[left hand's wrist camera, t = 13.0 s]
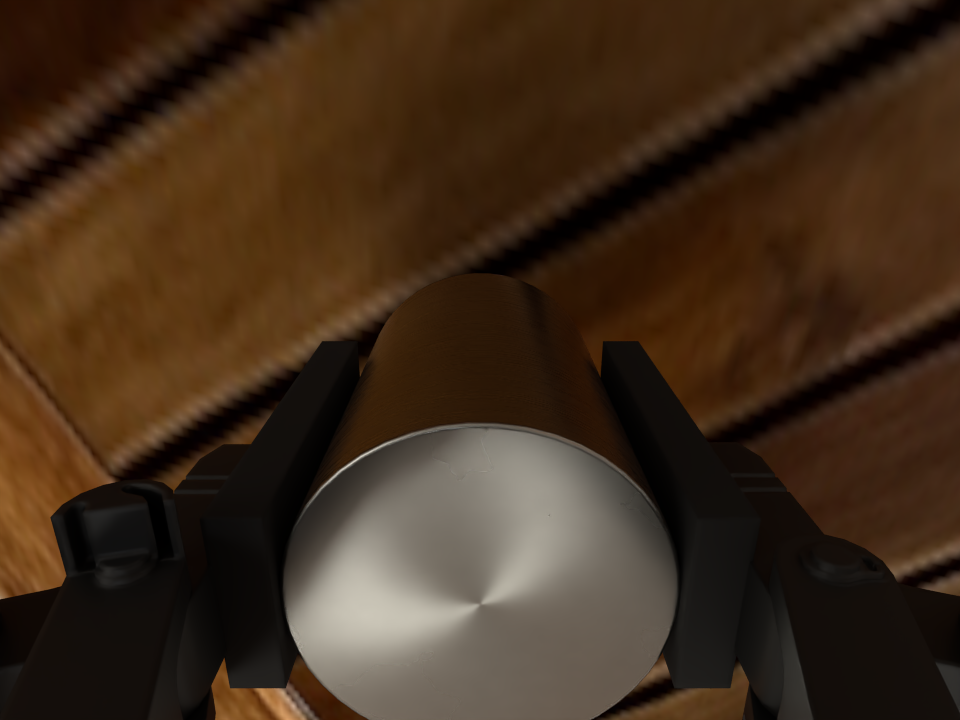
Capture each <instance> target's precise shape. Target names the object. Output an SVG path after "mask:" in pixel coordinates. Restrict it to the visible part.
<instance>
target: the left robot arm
mask: <svg viewBox="0 0 960 720" xmlns="http://www.w3.org/2000/svg"><path fill="white" fill-rule="evenodd" d="M359 378H360V373H359V359H358V345H357V341H322V342H321V344H320V345H319V347H318V348H317V350H316V351H315V353H314V354H313V355H312V357H311V358H310V360H309V361H308V363H307V364H306V366H305V367H304V368H303V370H302V371H301V373H300V374H299V376H298V377H297V379H296V380H295V381H294V383H293V384H292V386H291V387H290V389H289V390H288V392H287V393H286V394H285V396H284V397H283V399H282V400H281V402H280V403H279V405H278V406H277V407H276V409H275V410H274V412H273V413H272V415H271V416H270V418H269V419H268V420H267V422H266V423H265V425H264V426H263V428H262V429H261V431H260V432H259V433H258V435H257V436H256V438H255V439H254V441H253V442H252V444H224V445H222V446H220V447H219V448H217V449H215V450H214V451H212V452H211V453H209V454H207V455H206V456H204V457H203V458H201V459H200V460H199V461H198V462H197V463H196V465H195V466H194V467H193V468H192V470H191V471H190V472H189V473H188V474H187V476H186V480H183V481H182V482H181V483H180V484H179V486H178V487H177V488H176V489H175V491H174V493H173V490H172V489H171V488H170V487H168V486H167V485H166V484H164V483H162V482H157V481H152V480H147V479H145V480H125V481H120V482H115V483H111V484H106V485H102V486H99V487H97V488H94V489H92V490H89V491H86V492H84V493H81V494H79V495H78V496H76V497H74V498H73V499H71V500H69V501H68V502H66V503H64V504H63V505H62V506H61V507H60V508H59V509H58V510H57V511H56V512H55V513H54V514H53V515H52V516H51V517H50V518H51V521H52V525H53V528H54V532H55V536H56V539H57V543H58V546H59V550H60V553H61V557H62V561H63V564H64V568H65V571H66V575H67V576H66V578H65V580H64V582H63V584H62V586H61V587H57V588H53V589H49V590H44V591H39V592H34V593H29V594H25V595H20V596H15V597H10V598H5V599H0V720H215V715H216V712H215V705H214V698H213V693H212V688H211V685H212V683H213V681H214V678H215V676H216V674H217V672H218V670H219V668H220V666H221V664H222V661H223V659H224V657H225V662H226V668H227V673H228V679H229V684H230V688H286V686H287V683H288V680H289V677H290V674H291V671H292V668H293V665H294V662H295V659H296V656H297V653H298V651H297V650H296V647H295V645H294V643H293V641H292V639H291V636H290V634H289V632H288V629H287V625H286V622H285V618H284V615H283V611H282V604H281V595H280V568H281V562H282V557H283V553H284V548H285V544H286V542H287V539H288V536H289V534H290V531H291V529H292V526H293V524H294V521H295V519H296V517H297V515H298V513H299V510H300V508H301V506H302V504H303V502H304V499H305V497H306V495H307V493H308V491H309V488H310V486H311V484H312V482H313V480H314V477H315V475H316V473H317V471H318V469H319V466H320V464H321V462H322V460H323V458H324V455H325V453H326V451H327V449H328V447H329V444H330V442H331V440H332V438H333V436H334V433H335V431H336V429H337V427H338V425H339V422H340V420H341V418H342V416H343V414H344V411H345V409H346V407H347V405H348V403H349V400H350V398H351V396H352V394H353V392H354V389H355V387H356V385H357V383H358V381H359ZM601 380H602V382H603V384H604V387H605V389H606V391H607V393H608V395H609V398H610V400H611V402H612V404H613V406H614V409H615V411H616V413H617V415H618V417H619V420H620V422H621V424H622V426H623V428H624V430H625V433H626V435H627V437H628V439H629V441H630V444H631V446H632V448H633V450H634V452H635V455H636V457H637V459H638V461H639V463H640V466H641V468H642V470H643V472H644V474H645V477H646V479H647V481H648V483H649V485H650V488H651V490H652V492H653V494H654V496H655V498H656V501H657V503H658V505H659V507H660V509H661V512H662V514H663V516H664V518H665V520H666V523H667V525H668V527H669V529H670V532H671V535H672V538H673V541H674V544H675V547H676V549H677V555H678V561H679V566H680V587H681V590H680V599H679V606H678V612H677V617H676V620H675V623H674V626H673V630H672V633H671V636H670V638H669V640H668V642H667V644H666V646H665V648H664V650H663V655H664V658H665V661H666V664H667V667H668V670H669V673H670V676H671V678H672V681H673V684H674V687H675V688H730V687H731V681H732V676H733V670H734V665H735V659H736V655H737V657H738V659H739V661H740V664H741V666H742V668H743V670H744V672H745V674H746V676H747V678H748V680H749V688H748V693H747V698H746V703H745V708H744V713H743V718H742V720H960V596H955V595H950V594H945V593H940V592H935V591H930V590H926V589H921V588H916V587H911V586H907V585H903V584H900V583H897V581H896V579H895V577H894V575H893V574H892V572H891V571H890V570H889V569H888V567H887V566H886V565H885V563H884V562H883V561H882V560H880V559H879V558H878V557H876V556H875V555H873V554H872V553H871V552H869V551H868V550H866V549H865V548H862V547H860V546H858V545H856V544H853V543H851V542H849V541H847V540H844V539H841V538H837V537H833V536H828V535H824V534H823V532H822V531H821V530H820V529H819V528H818V526H817V525H816V524H815V523H814V521H813V520H812V519H811V518H810V516H809V515H808V514H807V513H806V512H805V510H804V509H803V508H802V507H801V505H800V504H799V503H798V502H797V501H796V499H795V498H794V497H793V496H792V494H791V493H790V492H787V490H786V489H787V488H786V487H785V486H784V485H783V483H782V482H781V481H780V480H779V479H778V478H776V477H775V474H774V472H773V471H772V470H771V469H770V467H769V466H768V465H767V464H766V463H765V461H764V460H763V459H762V458H761V457H760V456H759V455H757V454H755V453H754V452H752V451H750V450H749V449H747V448H746V447H744V446H742V445H741V444H739V443H737V442H708V441H707V440H706V439H705V437H704V436H703V434H702V433H701V431H700V430H699V428H698V427H697V426H696V424H695V423H694V421H693V420H692V418H691V417H690V415H689V414H688V413H687V411H686V410H685V408H684V407H683V405H682V404H681V402H680V401H679V400H678V398H677V397H676V395H675V394H674V392H673V391H672V389H671V388H670V387H669V385H668V384H667V382H666V381H665V379H664V378H663V376H662V375H661V374H660V372H659V371H658V369H657V368H656V366H655V365H654V363H653V362H652V361H651V359H650V358H649V356H648V355H647V353H646V352H645V350H644V349H643V348H642V346H641V345H640V343H639V342H638V341H603V351H602V365H601Z"/></svg>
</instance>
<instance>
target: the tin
mask: <svg viewBox="0 0 960 720" xmlns="http://www.w3.org/2000/svg"><path fill="white" fill-rule="evenodd" d="M680 590H681V587H680V566H679V561H678V555H677V549H676V547H675V544H674V541H673V538H672V535H671V532H670V529H669V527H668V525H667V523H666V520H665V518H664V516H663V514H662V512H661V509H660V507H659V505H658V503H657V501H656V498H655V496H654V494H653V492H652V490H651V488H650V485H649V483H648V481H647V479H646V477H645V474H644V472H643V470H642V468H641V466H640V463H639V461H638V459H637V457H636V455H635V452H634V450H633V448H632V446H631V444H630V441H629V439H628V437H627V435H626V433H625V430H624V428H623V426H622V424H621V422H620V420H619V417H618V415H617V413H616V411H615V409H614V406H613V404H612V402H611V400H610V398H609V395H608V393H607V391H606V389H605V387H604V384H603V382H602V380H601V378H600V376H599V373H598V371H597V369H596V367H595V365H594V362H593V360H592V358H591V356H590V354H589V352H588V349H587V347H586V345H585V343H584V341H583V338H582V336H581V334H580V332H579V331H578V329H577V327H576V325H575V323H574V322H573V320H572V319H571V318H570V316H569V315H568V314H567V312H566V311H565V310H564V309H563V308H562V307H561V306H560V305H559V304H558V303H557V302H556V301H555V300H553V299H552V298H551V297H550V296H548V295H547V294H546V293H544V292H542V291H541V290H539V289H537V288H536V287H534V286H532V285H530V284H528V283H525V282H523V281H520V280H518V279H514V278H511V277H507V276H502V275H495V274H480V273H473V274H465V275H458V276H454V277H450V278H446V279H443V280H440V281H438V282H435V283H432V284H430V285H428V286H426V287H425V288H423V289H421V290H419V291H417V292H416V293H415V294H413V295H412V296H411V297H409V298H408V299H407V300H405V301H404V302H403V303H402V304H401V305H400V306H399V307H398V308H397V309H396V310H395V311H394V313H393V314H392V315H391V317H390V318H389V319H388V321H387V322H386V324H385V325H384V327H383V329H382V331H381V332H380V334H379V337H378V339H377V341H376V343H375V345H374V348H373V350H372V352H371V354H370V356H369V359H368V361H367V363H366V365H365V367H364V370H363V372H362V374H361V376H360V378H359V381H358V383H357V385H356V387H355V389H354V392H353V394H352V396H351V398H350V400H349V403H348V405H347V407H346V409H345V411H344V414H343V416H342V418H341V420H340V422H339V425H338V427H337V429H336V431H335V433H334V436H333V438H332V440H331V442H330V444H329V447H328V449H327V451H326V453H325V455H324V458H323V460H322V462H321V464H320V466H319V469H318V471H317V473H316V475H315V477H314V480H313V482H312V484H311V486H310V488H309V491H308V493H307V495H306V497H305V499H304V502H303V504H302V506H301V508H300V510H299V513H298V515H297V517H296V519H295V521H294V524H293V526H292V529H291V531H290V534H289V536H288V539H287V542H286V544H285V548H284V553H283V557H282V562H281V568H280V595H281V604H282V611H283V615H284V618H285V622H286V625H287V629H288V632H289V634H290V636H291V639H292V641H293V643H294V645H295V647H296V650H297V651H298V653H299V655H300V656H301V658H302V659H303V661H304V662H305V664H306V666H307V667H308V669H309V670H310V671H311V672H312V673H313V674H314V676H315V677H316V678H317V679H318V680H319V682H320V683H321V684H322V685H323V686H324V687H325V688H326V689H327V690H329V691H330V692H331V693H332V694H333V695H334V696H335V697H336V698H337V699H338V700H340V701H341V702H343V703H344V704H345V705H347V706H348V707H350V708H351V709H352V710H354V711H355V712H357V713H358V714H360V715H362V716H364V717H365V718H367V719H369V720H591V719H593V718H595V717H597V716H599V715H600V714H602V713H603V712H605V711H606V710H608V709H609V708H611V707H612V706H614V705H615V704H617V703H618V702H619V701H620V700H622V699H623V698H624V697H625V696H626V695H627V694H629V693H630V692H631V691H632V690H633V689H634V688H635V687H636V686H637V685H638V684H639V683H640V682H641V681H642V680H643V678H644V677H645V676H646V675H647V674H648V673H649V672H650V670H651V669H652V667H653V666H654V664H655V663H656V661H657V660H658V659H659V657H660V656H661V654H662V652H663V650H664V648H665V646H666V644H667V642H668V640H669V638H670V636H671V633H672V630H673V626H674V623H675V620H676V617H677V612H678V606H679V599H680Z"/></svg>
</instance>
